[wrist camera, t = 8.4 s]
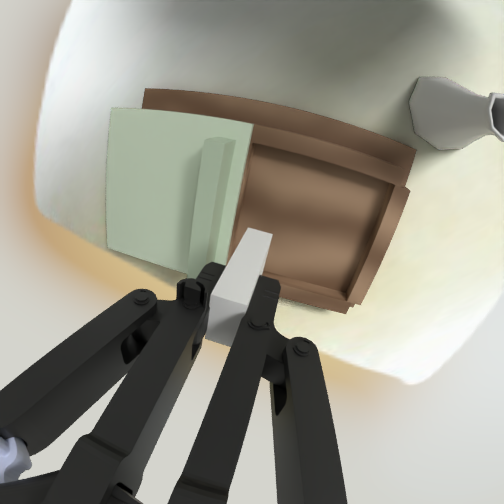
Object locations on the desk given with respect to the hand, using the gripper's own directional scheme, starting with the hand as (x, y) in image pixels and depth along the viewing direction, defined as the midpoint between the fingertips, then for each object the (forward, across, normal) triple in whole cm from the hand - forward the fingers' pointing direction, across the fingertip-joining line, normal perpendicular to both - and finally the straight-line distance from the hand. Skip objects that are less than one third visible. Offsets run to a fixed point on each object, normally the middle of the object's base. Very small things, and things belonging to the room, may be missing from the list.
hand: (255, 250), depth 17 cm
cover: (+7, -10, -1) cm, 12 cm away
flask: (+11, +13, +13) cm, 21 cm away
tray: (+10, -2, 0) cm, 10 cm away
